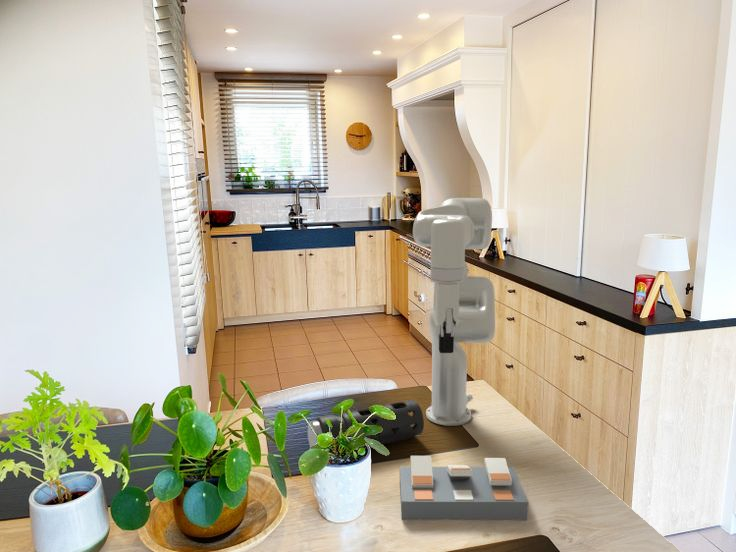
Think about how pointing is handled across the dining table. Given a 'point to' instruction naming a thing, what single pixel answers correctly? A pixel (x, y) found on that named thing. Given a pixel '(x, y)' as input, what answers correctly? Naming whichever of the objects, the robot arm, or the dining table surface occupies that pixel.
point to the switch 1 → (421, 472)
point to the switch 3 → (497, 471)
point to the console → (462, 497)
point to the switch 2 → (459, 471)
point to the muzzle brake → (375, 423)
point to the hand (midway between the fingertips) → (446, 351)
